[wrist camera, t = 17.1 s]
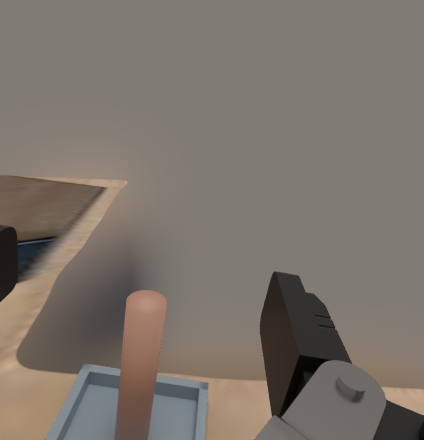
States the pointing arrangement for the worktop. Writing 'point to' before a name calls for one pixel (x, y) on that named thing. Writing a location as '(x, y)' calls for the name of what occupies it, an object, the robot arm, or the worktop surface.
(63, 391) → the worktop surface
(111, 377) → the tray
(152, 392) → the dowel
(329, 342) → the robot arm
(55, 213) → the worktop surface
